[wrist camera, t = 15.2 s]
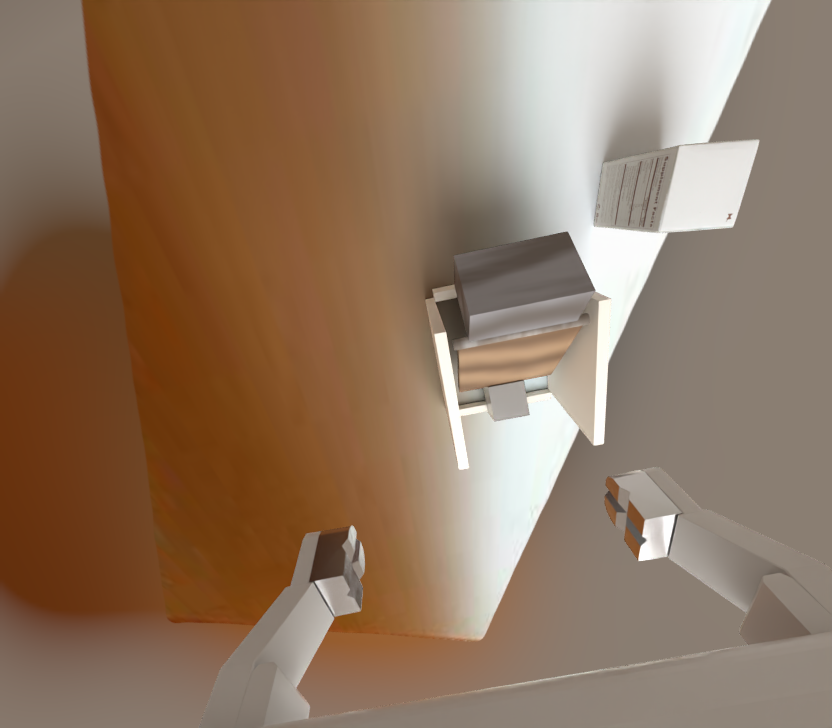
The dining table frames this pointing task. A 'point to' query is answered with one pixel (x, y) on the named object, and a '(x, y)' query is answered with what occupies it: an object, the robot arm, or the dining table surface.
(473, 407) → the frame
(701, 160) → the supplement box
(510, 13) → the dining table surface
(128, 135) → the dining table surface
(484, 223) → the dining table surface
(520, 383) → the light grey cube
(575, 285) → the trapdoor
